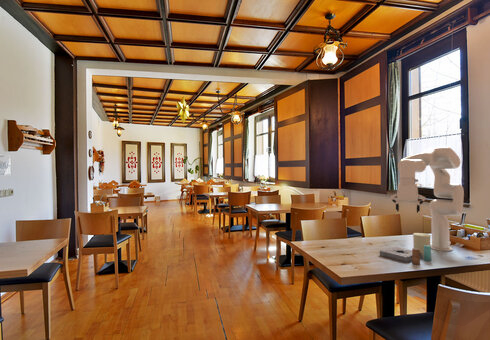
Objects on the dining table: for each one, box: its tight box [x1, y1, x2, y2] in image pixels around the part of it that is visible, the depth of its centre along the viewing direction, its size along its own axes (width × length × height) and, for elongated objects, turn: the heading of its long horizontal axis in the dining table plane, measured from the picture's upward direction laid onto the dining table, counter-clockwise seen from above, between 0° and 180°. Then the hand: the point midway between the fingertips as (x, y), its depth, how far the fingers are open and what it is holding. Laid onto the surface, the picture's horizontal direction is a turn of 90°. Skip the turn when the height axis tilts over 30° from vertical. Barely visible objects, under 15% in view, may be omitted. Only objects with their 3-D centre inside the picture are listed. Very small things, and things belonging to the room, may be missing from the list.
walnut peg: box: [411, 247, 421, 266], centre depth 156 cm, size 4×4×8 cm
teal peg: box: [423, 245, 432, 262], centre depth 163 cm, size 4×4×8 cm
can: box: [412, 232, 432, 256], centre depth 177 cm, size 9×9×12 cm
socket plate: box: [379, 246, 423, 264], centre depth 170 cm, size 16×16×3 cm
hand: (407, 211), depth 163 cm, fingers open, 9 cm apart
